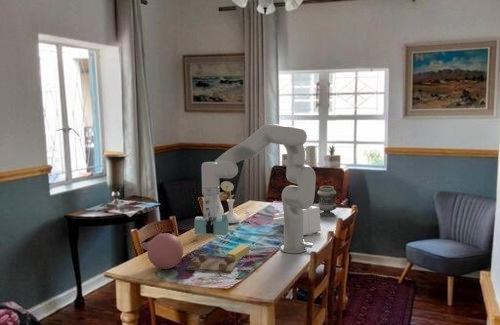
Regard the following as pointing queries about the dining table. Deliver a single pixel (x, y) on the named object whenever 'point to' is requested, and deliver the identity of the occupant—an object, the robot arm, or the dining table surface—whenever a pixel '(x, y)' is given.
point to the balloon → (164, 250)
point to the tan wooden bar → (238, 252)
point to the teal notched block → (218, 225)
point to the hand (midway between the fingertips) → (211, 231)
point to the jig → (212, 264)
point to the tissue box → (305, 220)
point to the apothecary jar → (327, 200)
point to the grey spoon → (230, 202)
